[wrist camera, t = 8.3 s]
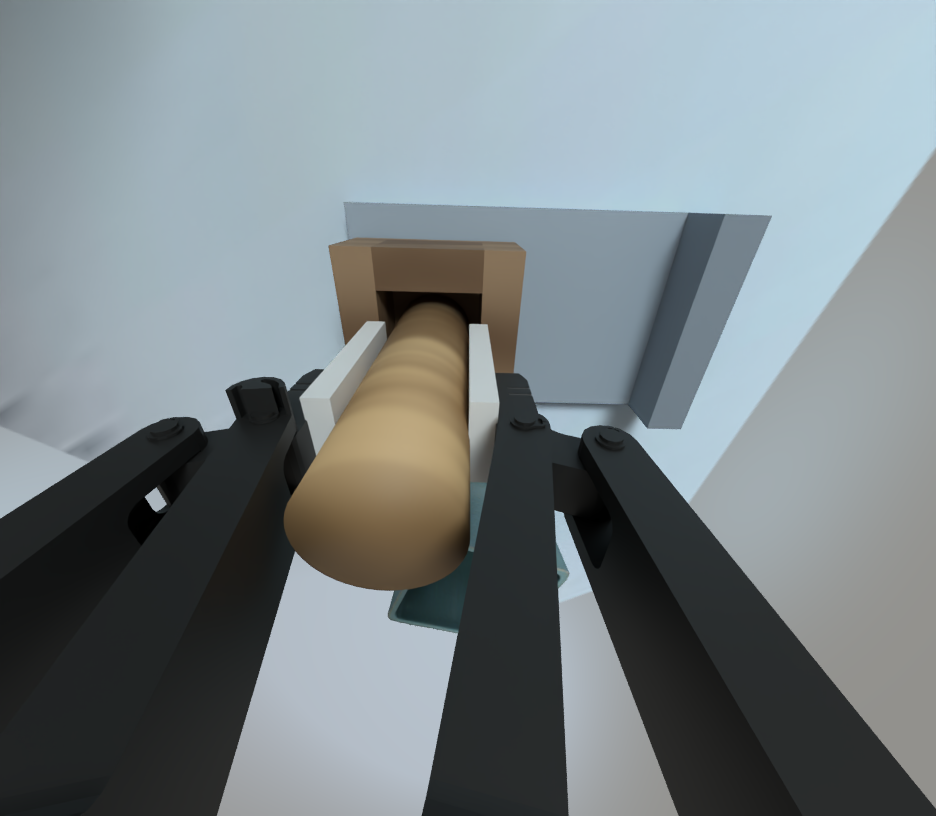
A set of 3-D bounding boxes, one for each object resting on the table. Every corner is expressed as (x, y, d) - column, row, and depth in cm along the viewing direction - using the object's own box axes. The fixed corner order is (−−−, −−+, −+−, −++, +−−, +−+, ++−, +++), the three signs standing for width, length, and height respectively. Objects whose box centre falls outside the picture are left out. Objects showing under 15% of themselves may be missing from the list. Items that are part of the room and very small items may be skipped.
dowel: (398, 292, 17) (259, 465, 6) (470, 294, 17) (473, 469, 6) (403, 359, 19) (306, 588, 8) (468, 361, 19) (468, 591, 8)
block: (356, 237, 17) (328, 245, 14) (514, 242, 17) (526, 251, 14) (375, 379, 21) (356, 413, 18) (502, 383, 21) (508, 417, 18)
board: (350, 202, 18) (322, 202, 14) (713, 213, 18) (771, 215, 14) (375, 389, 23) (359, 421, 20) (649, 396, 23) (680, 429, 20)
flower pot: (544, 469, 27) (574, 575, 19) (498, 537, 31) (507, 645, 24) (440, 435, 25) (428, 536, 18) (406, 511, 29) (384, 620, 22)
